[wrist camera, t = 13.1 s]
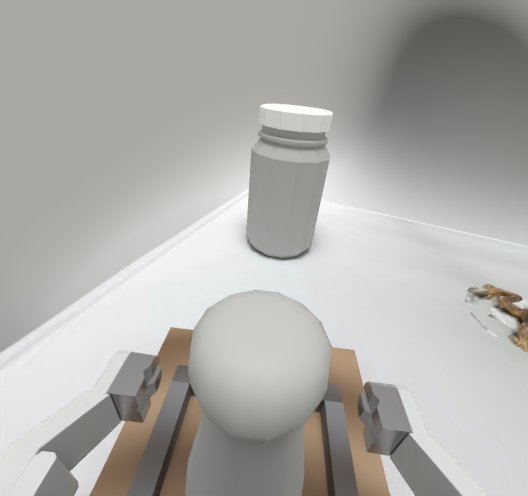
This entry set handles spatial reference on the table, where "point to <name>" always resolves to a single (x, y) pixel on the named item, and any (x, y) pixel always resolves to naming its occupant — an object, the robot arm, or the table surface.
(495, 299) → the frog figurine
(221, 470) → the salt shaker
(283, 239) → the jar
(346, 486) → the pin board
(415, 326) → the table surface
